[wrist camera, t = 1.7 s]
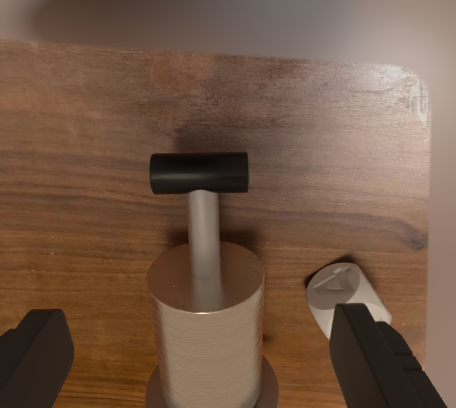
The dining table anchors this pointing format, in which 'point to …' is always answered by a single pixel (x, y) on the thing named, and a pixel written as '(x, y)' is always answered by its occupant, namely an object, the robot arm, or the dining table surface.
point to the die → (342, 294)
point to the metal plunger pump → (207, 296)
